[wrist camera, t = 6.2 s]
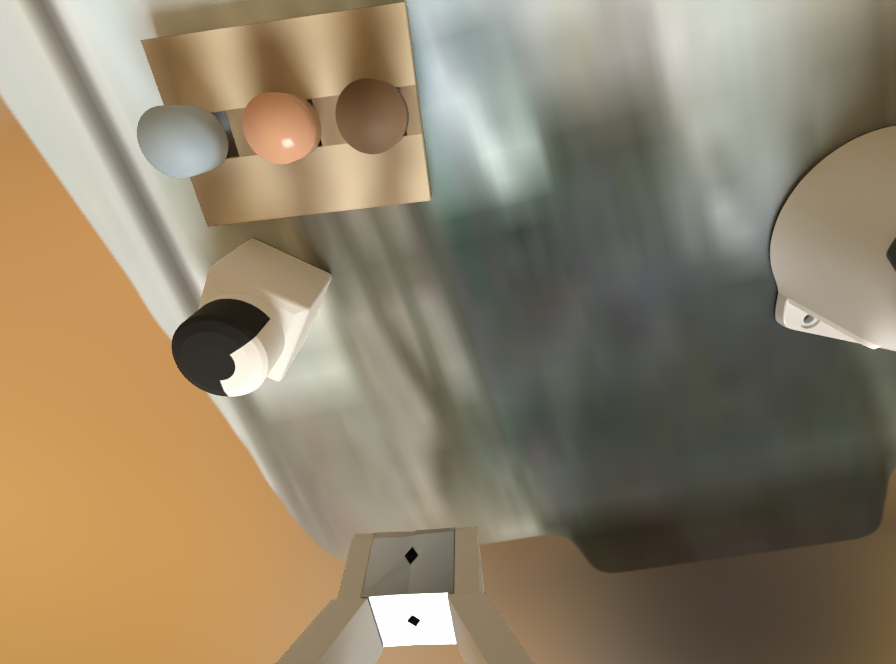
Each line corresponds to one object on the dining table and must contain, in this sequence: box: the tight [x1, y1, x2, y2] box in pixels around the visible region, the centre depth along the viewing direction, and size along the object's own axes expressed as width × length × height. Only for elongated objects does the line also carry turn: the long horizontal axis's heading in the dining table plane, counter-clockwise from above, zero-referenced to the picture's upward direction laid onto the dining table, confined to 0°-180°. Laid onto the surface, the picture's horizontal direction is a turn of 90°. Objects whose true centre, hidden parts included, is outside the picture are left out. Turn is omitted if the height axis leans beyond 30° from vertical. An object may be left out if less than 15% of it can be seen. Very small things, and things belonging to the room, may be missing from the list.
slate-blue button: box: [137, 105, 228, 178], centre depth 29 cm, size 4×4×5 cm
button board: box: [141, 2, 431, 226], centre depth 32 cm, size 17×12×2 cm
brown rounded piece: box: [335, 78, 409, 154], centre depth 29 cm, size 4×4×5 cm
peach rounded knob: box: [242, 92, 322, 164], centre depth 30 cm, size 4×4×5 cm
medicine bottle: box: [172, 238, 332, 396], centre depth 34 cm, size 7×7×12 cm
